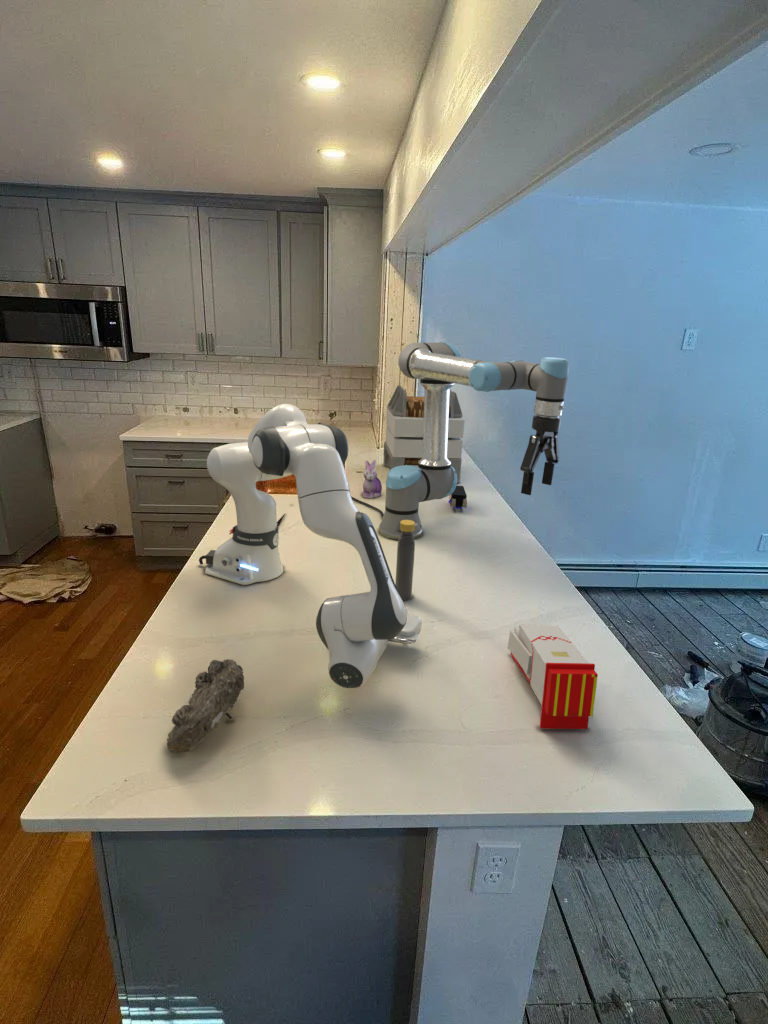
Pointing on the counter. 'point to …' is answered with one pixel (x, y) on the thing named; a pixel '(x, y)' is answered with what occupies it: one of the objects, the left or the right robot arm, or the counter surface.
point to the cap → (407, 525)
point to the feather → (280, 520)
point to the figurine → (371, 481)
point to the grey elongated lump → (206, 705)
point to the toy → (555, 675)
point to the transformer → (418, 431)
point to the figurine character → (458, 498)
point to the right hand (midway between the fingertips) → (536, 489)
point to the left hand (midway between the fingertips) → (386, 606)
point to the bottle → (405, 565)
